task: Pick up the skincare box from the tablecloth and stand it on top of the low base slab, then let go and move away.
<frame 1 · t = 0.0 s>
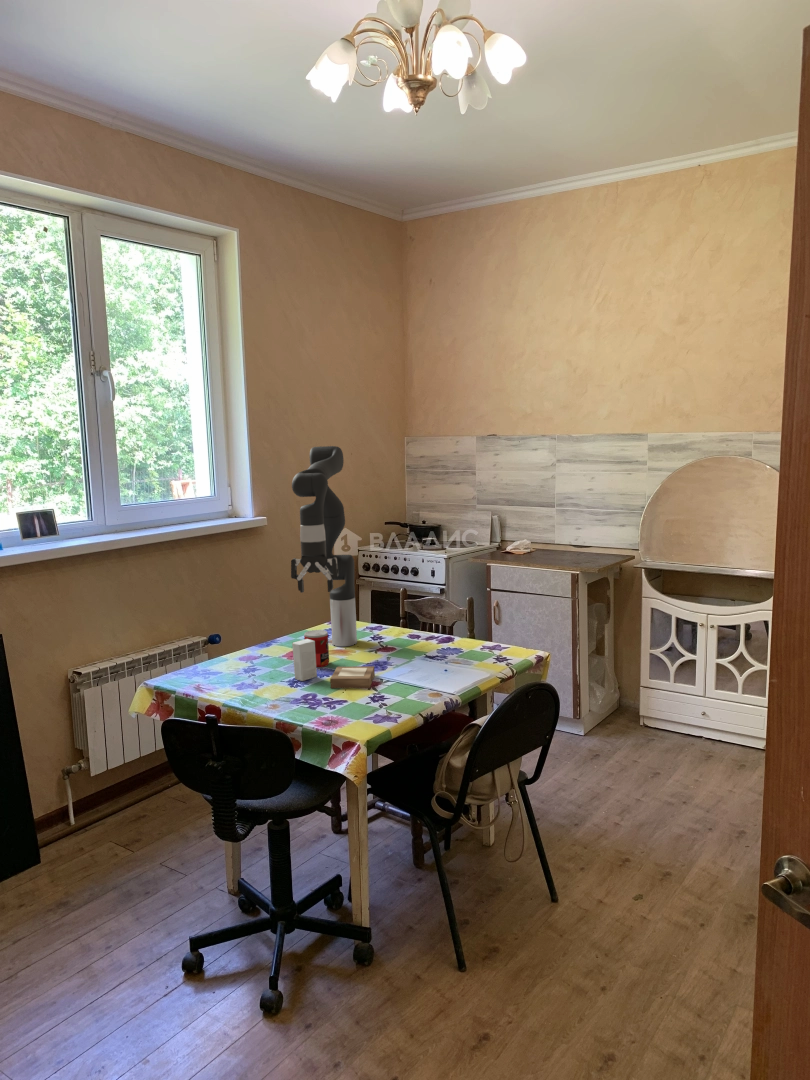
hand: (315, 591, 227), 29 cm above the table, tool pointing down, fingers open, 8 cm apart
skincare box: (305, 678, 237), on the table
base slab: (353, 681, 232), on the table
canned food: (317, 665, 251), on the table
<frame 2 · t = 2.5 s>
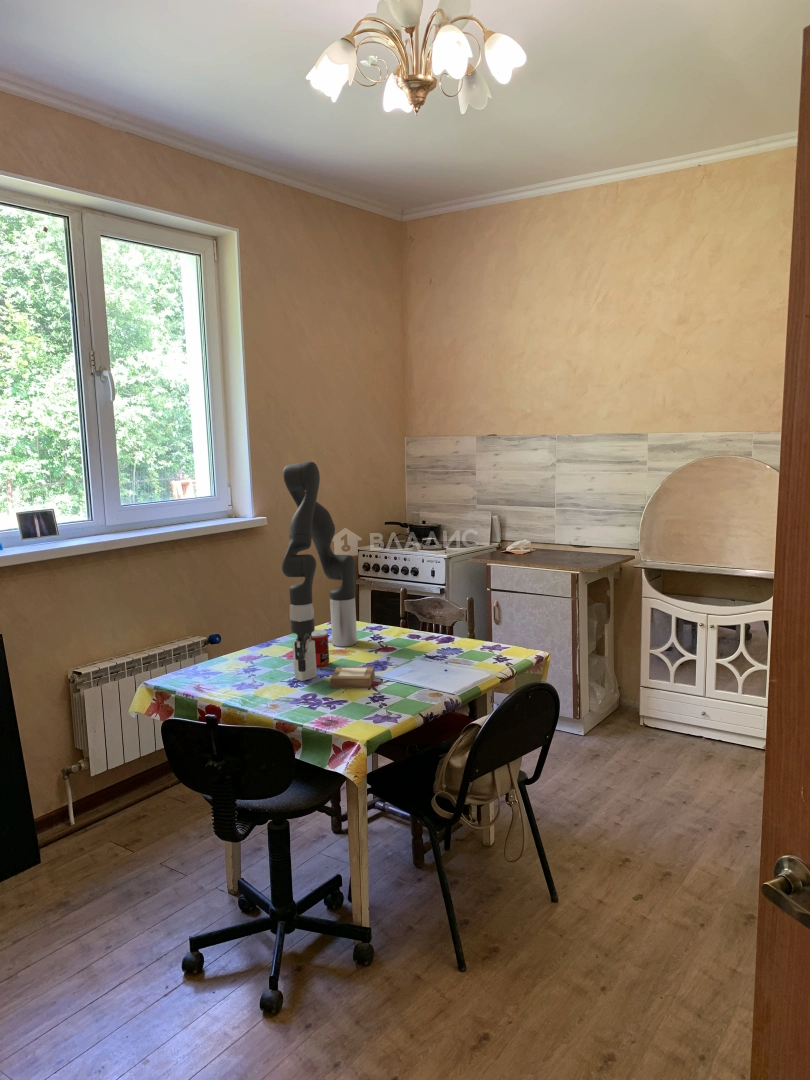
hand: (304, 667, 237), 3 cm above the table, tool pointing down, fingers closed on skincare box, 7 cm apart
skincare box: (305, 678, 237), on the table, touching gripper
everything else where it was.
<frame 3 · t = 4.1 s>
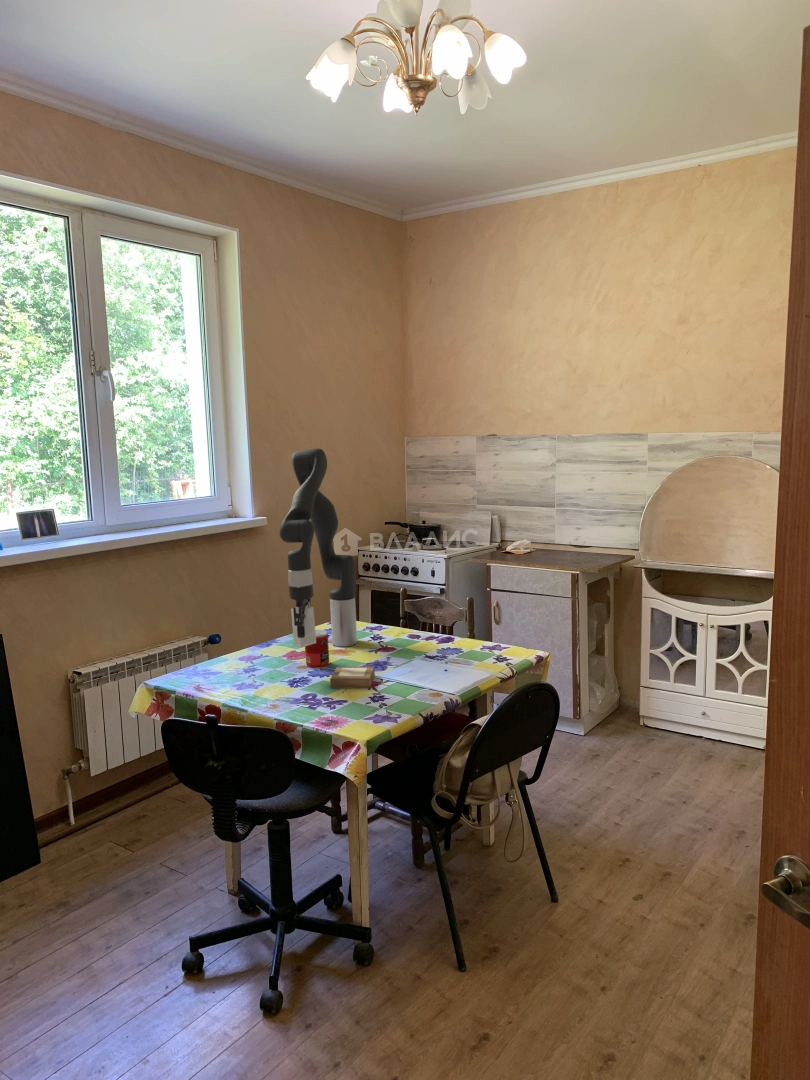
hand: (304, 633, 236), 14 cm above the table, tool pointing down, fingers closed on skincare box, 7 cm apart
skincare box: (304, 645, 236), point 11 cm above the table, touching gripper
everything else where it was.
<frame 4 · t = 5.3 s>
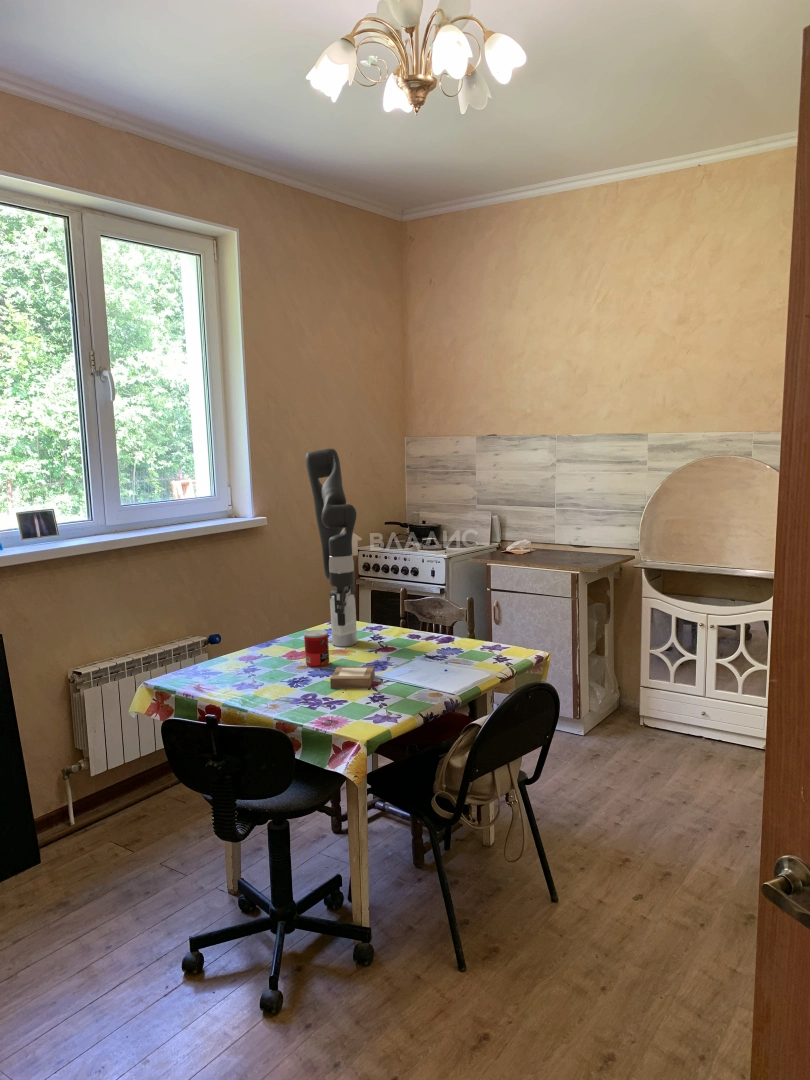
hand: (344, 622, 229), 19 cm above the table, tool pointing down, fingers closed on skincare box, 7 cm apart
skincare box: (344, 633, 230), point 15 cm above the table, touching gripper
everything else where it was.
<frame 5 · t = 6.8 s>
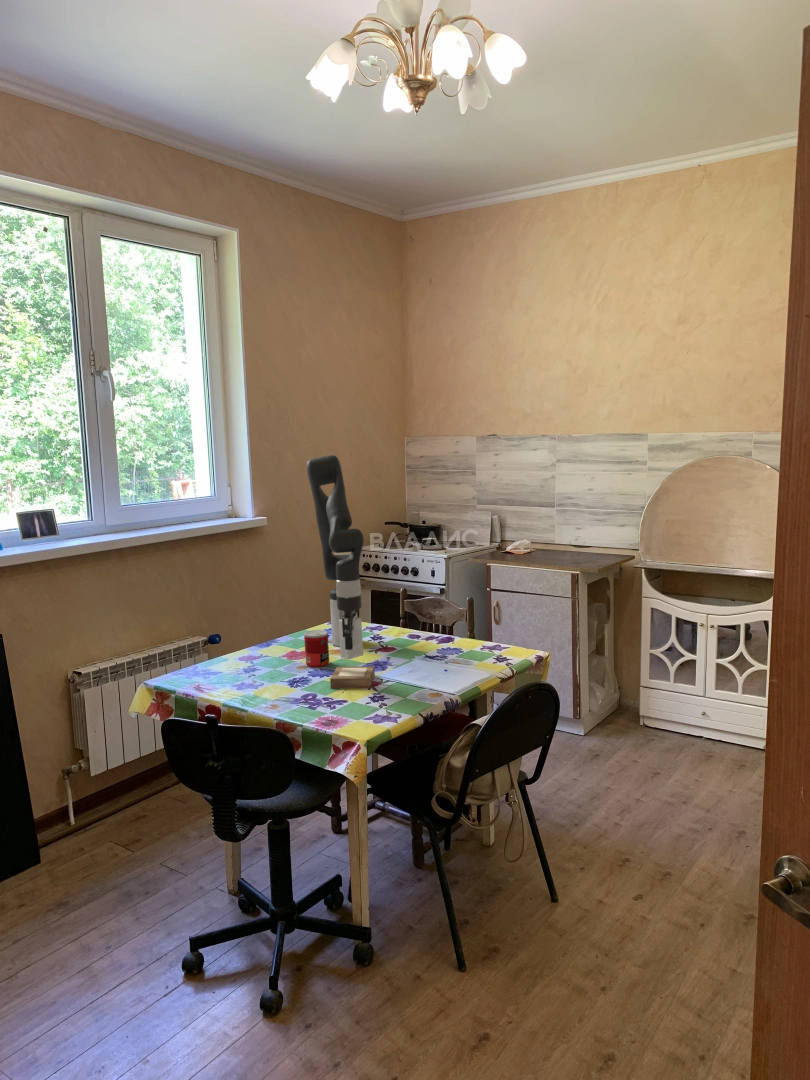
hand: (351, 645, 230), 12 cm above the table, tool pointing down, fingers closed on skincare box, 7 cm apart
skincare box: (351, 657, 231), point 8 cm above the table, touching gripper
everything else where it was.
when the fingers open (7 cm above the table, at t = 8.2 s): skincare box stays where it is, resting on base slab.
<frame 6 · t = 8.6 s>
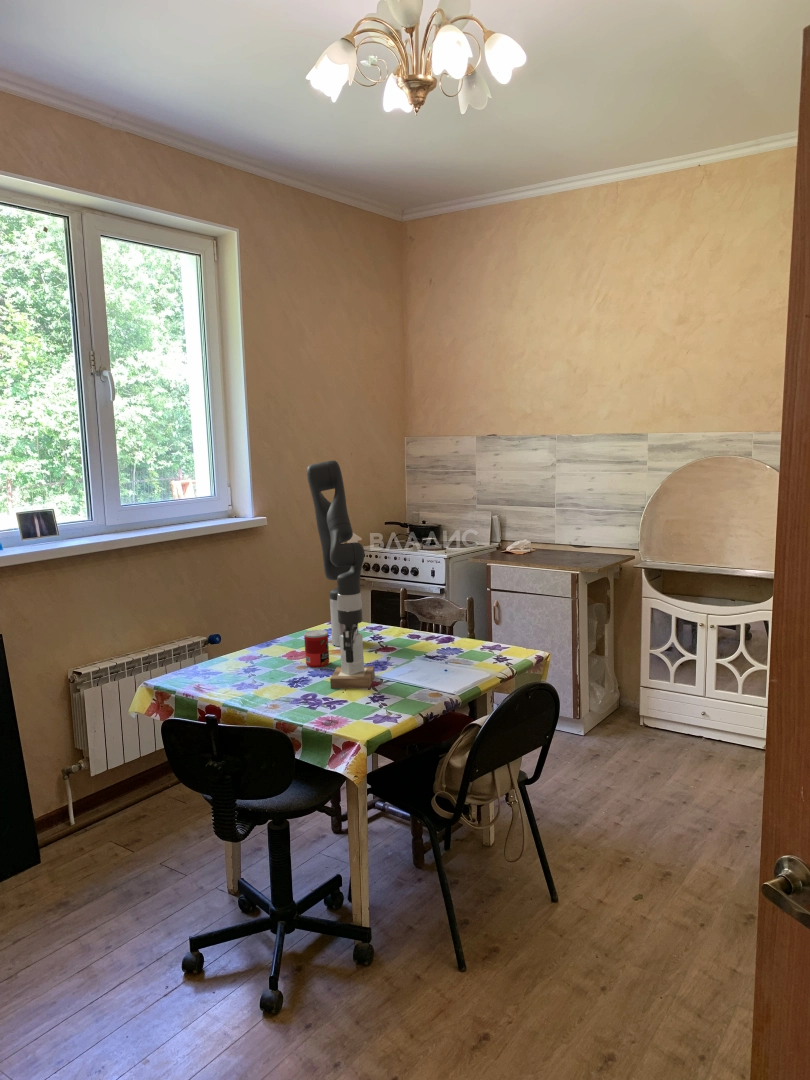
hand: (352, 658, 231), 8 cm above the table, tool pointing down, fingers open, 8 cm apart
skincare box: (352, 672, 232), point 3 cm above the table, touching base slab
everything else where it was.
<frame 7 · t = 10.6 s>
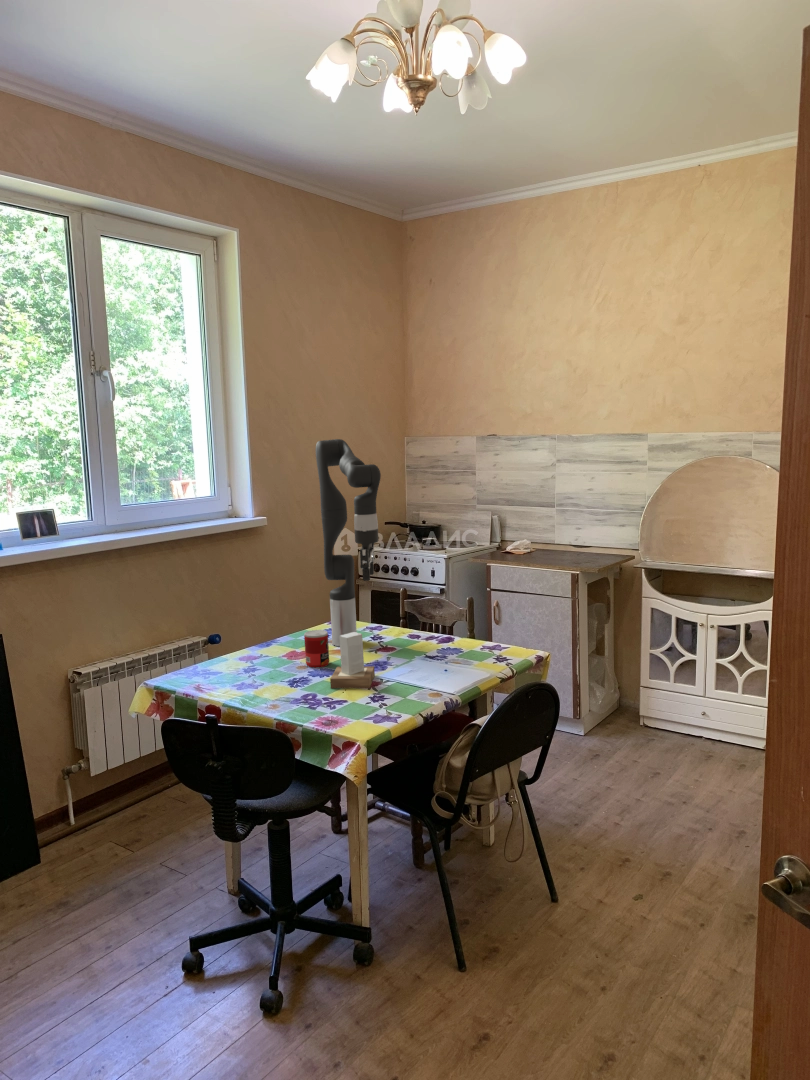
hand: (368, 577, 239), 31 cm above the table, tool pointing down, fingers open, 8 cm apart
nothing on the table moved.
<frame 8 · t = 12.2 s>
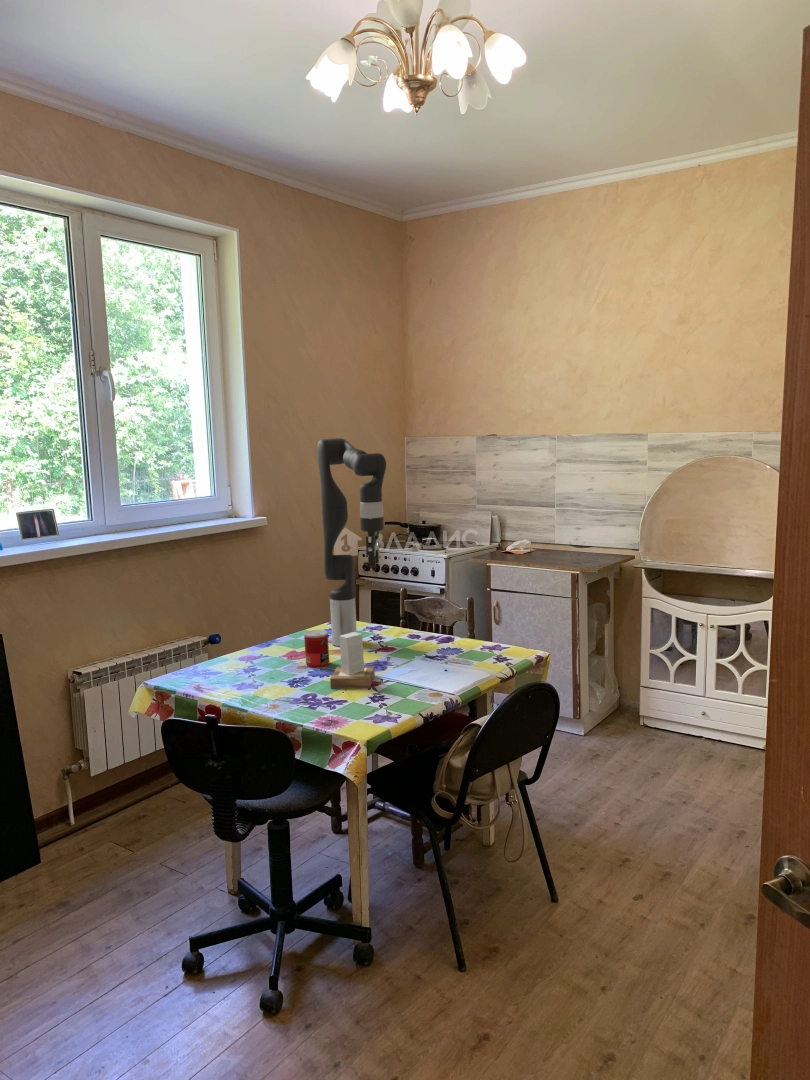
hand: (373, 565, 241), 34 cm above the table, tool pointing down, fingers open, 8 cm apart
nothing on the table moved.
at the end: skincare box inside the target area on the base slab (0.0 cm from its centre), point 2.9 cm above the base slab's base; skincare box tilted 0°; the gripper is holding nothing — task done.
